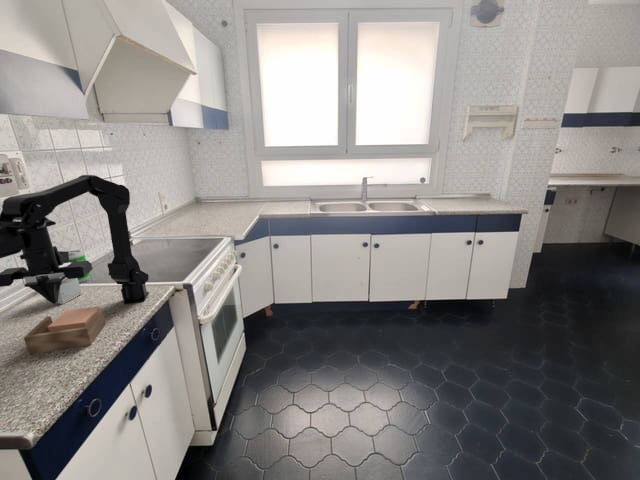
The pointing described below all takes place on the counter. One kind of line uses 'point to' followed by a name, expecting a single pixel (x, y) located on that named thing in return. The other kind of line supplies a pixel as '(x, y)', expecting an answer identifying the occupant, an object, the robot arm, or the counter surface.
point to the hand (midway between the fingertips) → (55, 302)
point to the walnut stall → (63, 335)
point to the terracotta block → (73, 319)
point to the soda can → (75, 257)
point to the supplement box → (68, 289)
